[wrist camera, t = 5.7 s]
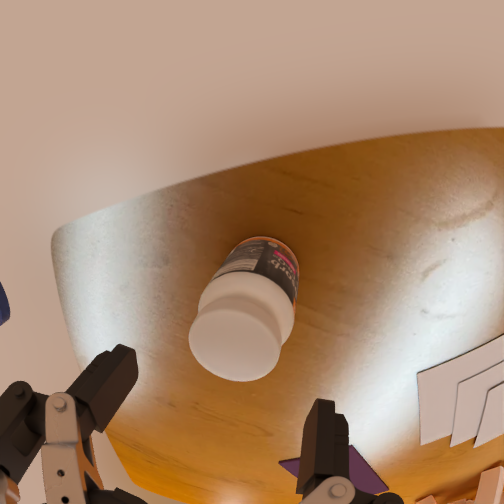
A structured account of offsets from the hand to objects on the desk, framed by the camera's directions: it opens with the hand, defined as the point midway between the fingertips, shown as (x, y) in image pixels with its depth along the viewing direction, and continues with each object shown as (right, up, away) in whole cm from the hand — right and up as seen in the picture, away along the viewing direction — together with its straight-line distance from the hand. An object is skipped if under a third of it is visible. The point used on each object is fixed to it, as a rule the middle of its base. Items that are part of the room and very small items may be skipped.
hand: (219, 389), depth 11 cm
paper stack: (+33, -13, +13) cm, 38 cm away
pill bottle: (+2, +5, +12) cm, 13 cm away
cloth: (+16, -30, +23) cm, 41 cm away
